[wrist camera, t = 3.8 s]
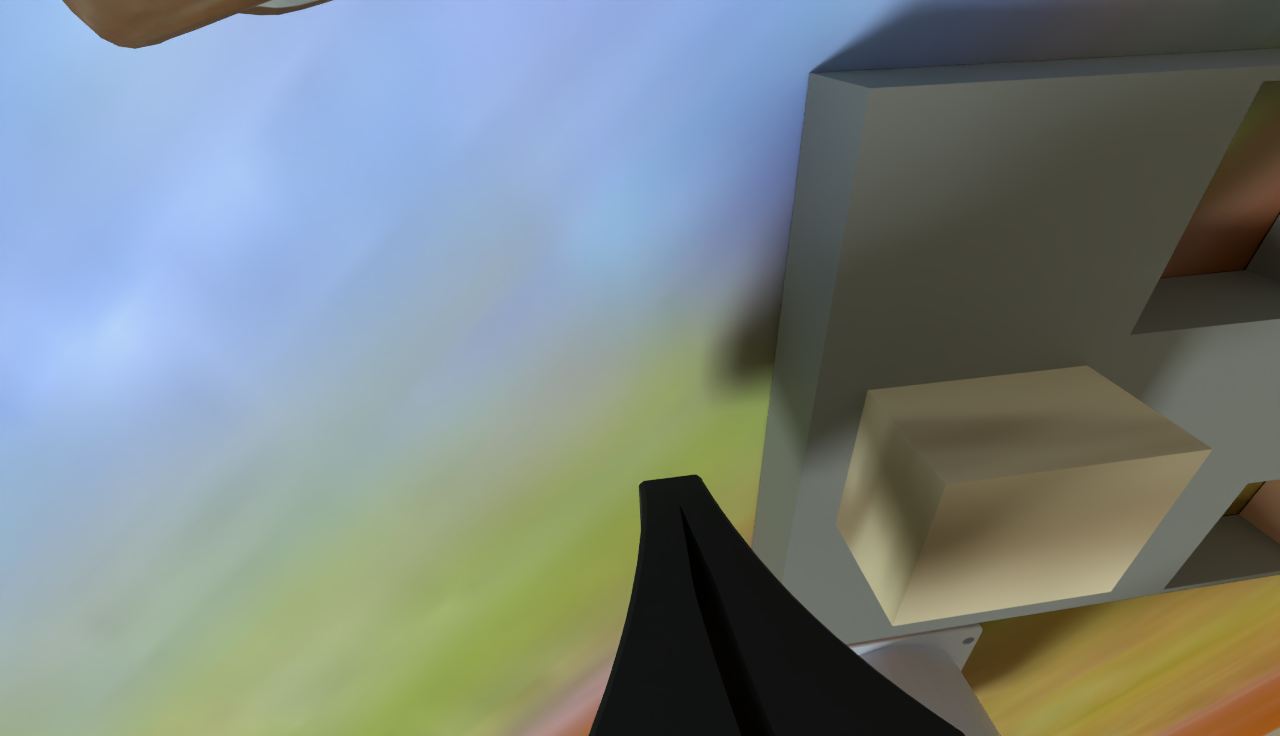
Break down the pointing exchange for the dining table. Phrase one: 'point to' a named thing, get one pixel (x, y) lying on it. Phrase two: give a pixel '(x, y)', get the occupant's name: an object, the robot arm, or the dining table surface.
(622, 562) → the dining table surface
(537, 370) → the dining table surface
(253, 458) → the dining table surface
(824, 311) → the board
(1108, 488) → the beech block
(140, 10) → the tin
